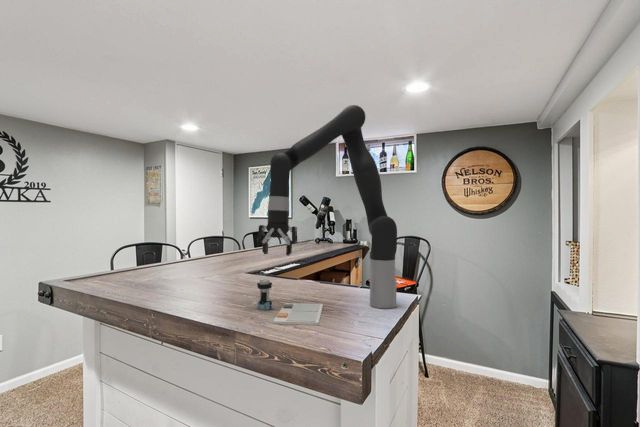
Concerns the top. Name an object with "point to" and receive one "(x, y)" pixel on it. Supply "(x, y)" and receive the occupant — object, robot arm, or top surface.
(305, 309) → the board
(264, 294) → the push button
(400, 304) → the top surface
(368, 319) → the top surface
